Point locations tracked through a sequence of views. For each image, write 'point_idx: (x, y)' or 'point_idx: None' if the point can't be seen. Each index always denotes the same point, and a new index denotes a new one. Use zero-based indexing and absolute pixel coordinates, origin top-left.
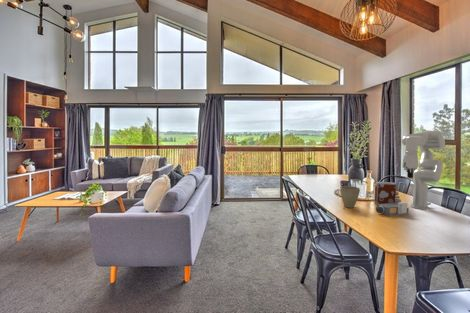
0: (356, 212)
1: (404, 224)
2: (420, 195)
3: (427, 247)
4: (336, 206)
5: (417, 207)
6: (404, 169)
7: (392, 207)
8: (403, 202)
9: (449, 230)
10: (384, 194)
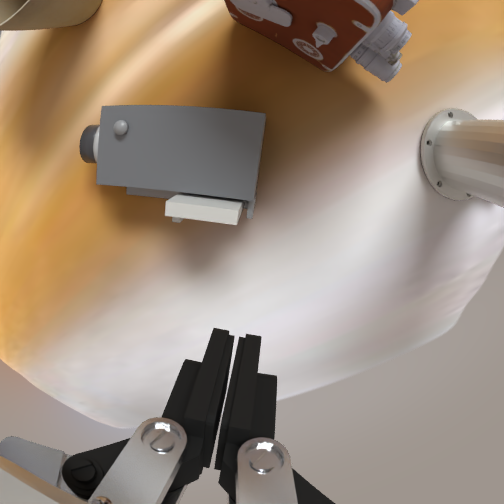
0: (38, 99)
1: (102, 294)
2: (481, 182)
3: (56, 389)
4: None
5: (424, 164)
6: (9, 449)
7: (137, 187)
8: (209, 213)
9: None
10: (260, 7)
